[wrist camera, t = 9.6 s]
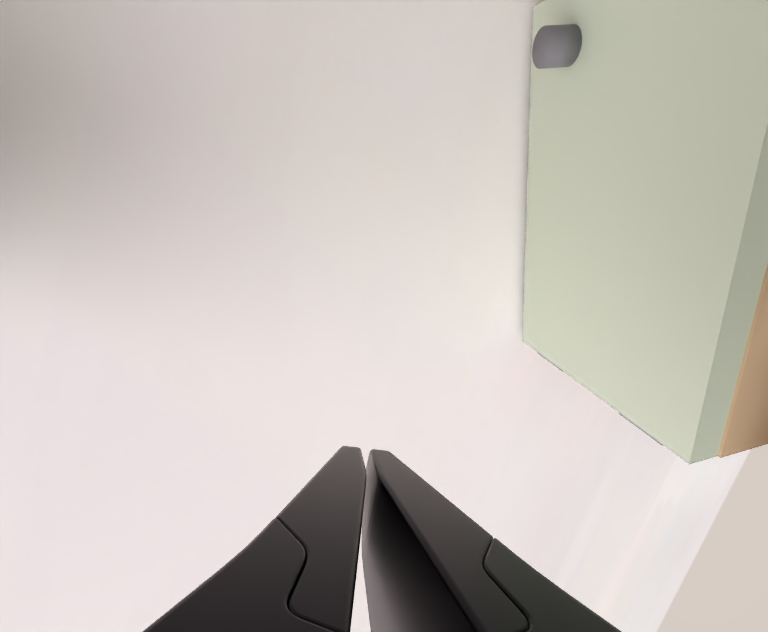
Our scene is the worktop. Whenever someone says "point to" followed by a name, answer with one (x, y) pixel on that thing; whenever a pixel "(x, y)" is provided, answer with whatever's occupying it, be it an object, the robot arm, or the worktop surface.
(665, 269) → the door
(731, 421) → the cabinet
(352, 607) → the robot arm
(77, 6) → the worktop surface
